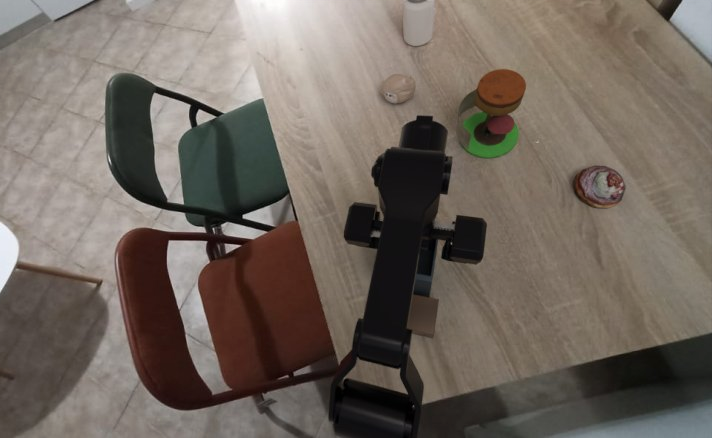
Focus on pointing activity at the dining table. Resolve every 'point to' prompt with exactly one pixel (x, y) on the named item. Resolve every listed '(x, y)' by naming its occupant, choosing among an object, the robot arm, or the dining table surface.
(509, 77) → the toy burger
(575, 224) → the dining table surface
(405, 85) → the beige rounded lump
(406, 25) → the can
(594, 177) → the pastry
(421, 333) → the metal block
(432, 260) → the bin
